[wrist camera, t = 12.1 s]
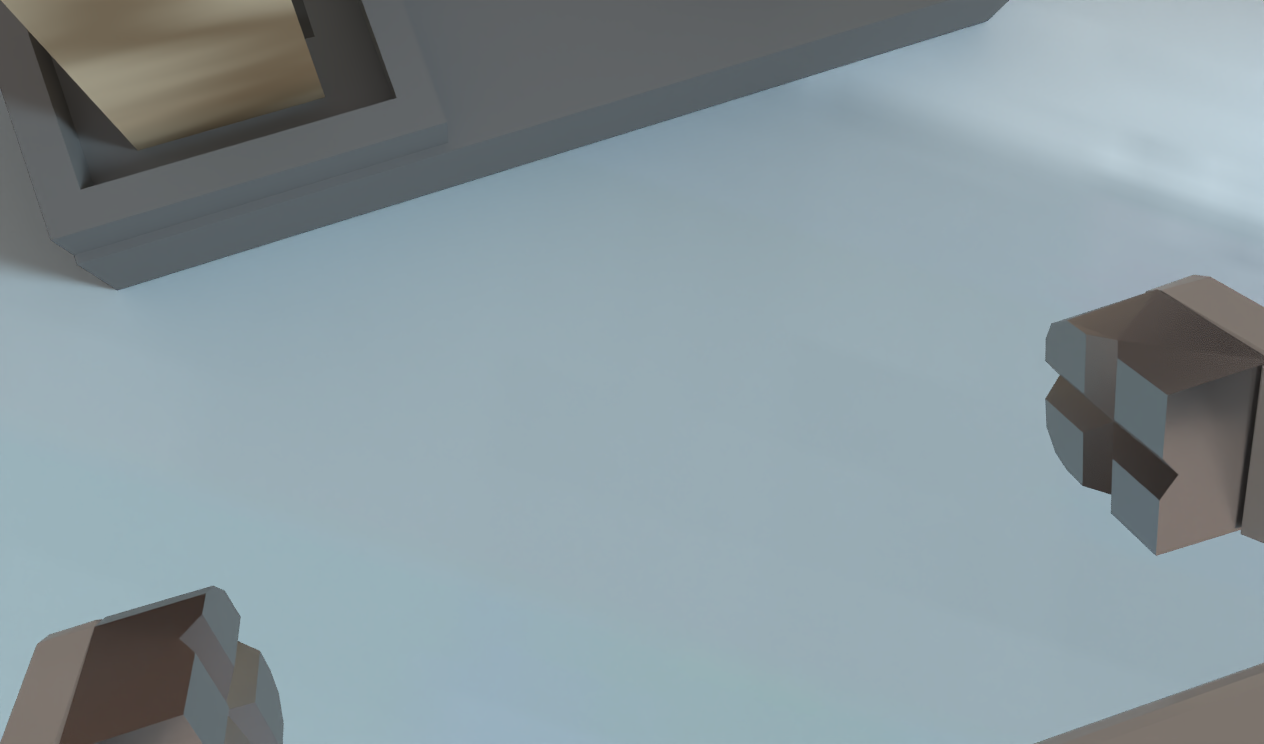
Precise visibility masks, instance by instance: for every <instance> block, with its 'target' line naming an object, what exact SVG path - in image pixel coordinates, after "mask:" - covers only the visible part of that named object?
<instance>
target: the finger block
mask: <svg viewBox="0 0 1264 744" xmlns="http://www.w3.org/2000/svg"><path fill="white" fill-rule="evenodd" d="M1 1H2V2H3V3H4V4H5V5H6V7H7V8H8V9H9V10H10V11H11V12H12V13H13V14H14V15H15V16H16V18H17V19H18V20H19V21H20V22H21V23H22V24H23V25H24V26H25V27H26V29H27V30H28V31H29V32H30V33H31V34H32V35H33V36H34V37H35V38H36V39H37V41H38V42H39V43H40V44H41V45H42V46H43V47H44V48H45V49H46V50H47V52H48V53H49V54H50V55H51V56H52V57H53V58H54V59H55V60H56V61H57V63H58V64H59V65H60V66H61V67H62V68H63V69H64V70H65V71H66V72H67V74H68V75H69V76H70V77H71V78H72V79H73V80H74V81H75V82H76V83H77V84H78V86H79V87H80V88H81V89H82V90H83V91H84V92H85V93H86V94H87V95H88V97H89V98H90V99H91V100H92V101H93V102H94V103H95V104H96V105H97V106H98V108H99V109H100V110H101V111H102V112H103V113H104V114H105V115H106V116H107V117H108V118H109V120H110V121H111V122H112V123H113V124H114V125H115V126H116V127H117V128H118V129H119V131H120V132H121V133H122V134H123V135H124V136H125V137H126V138H127V139H128V140H129V142H130V143H131V144H132V145H133V146H134V147H135V148H136V149H137V150H142V149H145V148H149V147H152V146H156V145H159V144H163V143H166V142H170V141H173V140H177V139H180V138H184V137H188V136H191V135H195V134H198V133H202V132H205V131H209V130H212V129H216V128H219V127H223V126H226V125H230V124H233V123H237V122H240V121H244V120H247V119H251V118H254V117H258V116H261V115H265V114H268V113H272V112H275V111H279V110H282V109H286V108H289V107H293V106H296V105H300V104H303V103H307V102H310V101H314V100H317V99H321V98H324V97H325V95H324V92H323V89H322V87H321V84H320V81H319V78H318V75H317V72H316V69H315V67H314V64H313V61H312V58H311V55H310V52H309V49H308V47H307V44H306V41H305V39H307V38H311V37H315V36H314V33H313V30H312V27H311V24H310V20H309V17H308V14H307V11H306V8H305V5H304V2H303V0H1Z"/></svg>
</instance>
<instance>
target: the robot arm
mask: <svg viewBox="0 0 1264 744" xmlns="http://www.w3.org/2000/svg"><path fill="white" fill-rule="evenodd" d="M1045 361H1046V362H1047V363H1048V364H1049V365H1050V366H1051V367H1052V368H1053V369H1054V370H1055V371H1056V372H1057V373H1058V374H1059V375H1060V376H1059V377H1058V379H1057V381H1056V382H1055V384H1054V385H1053V387H1052V389H1051V390H1050V392H1049V394H1048V395H1047V397H1046V399H1045V402H1046V426H1047V430H1048V433H1049V435H1050V438H1051V441H1052V444H1053V447H1054V450H1055V453H1056V454H1057V456H1058V457H1059V459H1060V460H1061V462H1062V463H1063V465H1064V466H1065V468H1066V470H1067V471H1068V472H1069V473H1070V474H1071V475H1072V476H1073V477H1074V478H1075V479H1076V480H1077V481H1078V482H1079V483H1080V484H1081V485H1082V486H1085V487H1088V488H1092V489H1095V490H1098V491H1102V492H1105V493H1108V494H1111V514H1112V515H1113V516H1114V517H1116V518H1117V519H1118V520H1119V521H1120V522H1121V523H1122V524H1123V525H1124V526H1125V527H1126V528H1127V529H1128V530H1129V531H1130V532H1131V533H1132V534H1133V535H1135V536H1136V537H1137V538H1138V539H1139V540H1140V541H1141V542H1142V543H1143V544H1144V545H1145V546H1146V547H1147V548H1148V549H1149V550H1150V551H1151V552H1152V553H1153V554H1155V555H1156V556H1157V555H1160V554H1163V553H1167V552H1170V551H1173V550H1176V549H1179V548H1183V547H1186V546H1189V545H1192V544H1196V543H1199V542H1202V541H1205V540H1209V539H1212V538H1215V537H1218V536H1222V535H1225V534H1228V533H1231V532H1235V531H1238V530H1241V534H1242V535H1245V536H1247V537H1250V538H1252V539H1255V540H1257V541H1260V542H1262V543H1264V307H1263V306H1261V305H1259V304H1257V303H1256V302H1254V301H1252V300H1250V299H1248V298H1247V297H1245V296H1243V295H1241V294H1240V293H1238V292H1236V291H1234V290H1233V289H1231V288H1229V287H1227V286H1226V285H1224V284H1222V283H1220V282H1219V281H1217V280H1215V279H1213V278H1212V277H1209V276H1200V275H1191V276H1188V277H1186V278H1183V279H1180V280H1177V281H1174V282H1171V283H1168V284H1165V285H1163V286H1160V287H1157V288H1154V289H1151V290H1148V291H1146V293H1144V294H1141V295H1138V296H1135V297H1131V298H1128V299H1125V300H1122V301H1119V302H1116V303H1113V304H1110V305H1107V306H1104V307H1101V308H1098V309H1095V310H1091V311H1088V312H1085V313H1082V314H1079V315H1076V316H1073V317H1070V318H1067V319H1064V320H1061V321H1058V322H1055V323H1051V326H1050V329H1049V331H1048V334H1047V337H1046V352H1045ZM240 618H241V616H240V615H239V613H238V612H237V610H236V608H235V607H234V605H233V603H232V602H231V600H230V599H229V597H228V595H227V594H226V592H225V591H224V590H222V589H220V588H217V587H215V586H210V587H207V588H203V589H200V590H197V591H193V592H190V593H186V594H183V595H179V596H176V597H173V598H169V599H166V600H162V601H159V602H155V603H152V604H149V605H145V606H142V607H138V608H135V609H131V610H128V611H125V612H121V613H118V614H114V615H111V616H107V617H105V618H104V619H100V620H94V621H91V622H88V623H85V624H82V625H78V626H75V627H72V628H69V629H66V630H62V631H59V632H56V633H53V634H50V635H48V636H47V637H46V638H44V639H43V640H42V641H40V642H39V643H38V644H37V646H36V648H35V650H34V653H33V656H32V658H31V661H30V664H29V666H28V669H27V672H26V674H25V677H24V680H23V682H22V685H21V688H20V691H19V693H18V696H17V699H16V701H15V704H14V707H13V709H12V712H11V715H10V717H9V720H8V723H7V726H6V728H5V731H4V734H3V736H2V739H1V742H0V744H283V726H284V723H283V717H282V711H281V704H280V698H279V693H278V690H277V687H276V684H275V682H274V679H273V676H272V673H271V671H270V669H269V667H268V665H267V663H266V661H265V659H264V658H263V656H262V654H261V652H260V651H259V650H256V649H254V648H252V647H250V646H248V645H245V644H243V643H241V642H239V641H238V634H239V626H240ZM1034 744H1264V663H1262V664H1259V665H1256V666H1253V667H1250V668H1247V669H1245V670H1242V671H1239V672H1236V673H1233V674H1230V675H1227V676H1225V677H1222V678H1219V679H1216V680H1213V681H1210V682H1208V683H1205V684H1202V685H1199V686H1196V687H1193V688H1191V689H1188V690H1185V691H1182V692H1179V693H1176V694H1173V695H1171V696H1168V697H1165V698H1162V699H1159V700H1156V701H1154V702H1151V703H1148V704H1145V705H1142V706H1139V707H1137V708H1134V709H1131V710H1128V711H1125V712H1122V713H1119V714H1117V715H1114V716H1111V717H1108V718H1105V719H1102V720H1100V721H1097V722H1094V723H1091V724H1088V725H1085V726H1083V727H1080V728H1077V729H1074V730H1071V731H1068V732H1066V733H1063V734H1060V735H1057V736H1054V737H1051V738H1048V739H1046V740H1043V741H1040V742H1037V743H1034Z"/></svg>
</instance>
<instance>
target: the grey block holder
mask: <svg viewBox="0 0 1264 744" xmlns="http://www.w3.org/2000/svg"><path fill="white" fill-rule="evenodd" d="M1008 1H1009V0H303V2H304V5H305V8H306V11H307V14H308V17H309V20H310V24H311V27H312V30H313V33H314V36H315V37H311V38H307V39H305V41H306V44H307V47H308V49H309V52H310V55H311V58H312V61H313V64H314V67H315V69H316V72H317V75H318V78H319V81H320V84H321V87H322V89H323V92H324V95H325V97H324V98H321V99H317V100H314V101H310V102H307V103H303V104H300V105H296V106H293V107H289V108H286V109H282V110H279V111H275V112H272V113H268V114H265V115H261V116H258V117H254V118H251V119H247V120H244V121H240V122H237V123H233V124H230V125H226V126H223V127H219V128H216V129H212V130H209V131H205V132H202V133H198V134H195V135H191V136H188V137H184V138H180V139H177V140H173V141H170V142H166V143H163V144H159V145H156V146H152V147H149V148H145V149H142V150H137V149H136V148H135V147H134V146H133V145H132V144H131V143H130V142H129V140H128V139H127V138H126V137H125V136H124V135H123V134H122V133H121V132H120V131H119V129H118V128H117V127H116V126H115V125H114V124H113V123H112V122H111V121H110V120H109V118H108V117H107V116H106V115H105V114H104V113H103V112H102V111H101V110H100V109H99V108H98V106H97V105H96V104H95V103H94V102H93V101H92V100H91V99H90V98H89V97H88V95H87V94H86V93H85V92H84V91H83V90H82V89H81V88H80V87H79V86H78V84H77V83H76V82H75V81H74V80H73V79H72V78H71V77H70V76H69V75H68V74H67V72H66V71H65V70H64V69H63V68H62V67H61V66H60V65H59V64H58V63H57V61H56V60H55V59H54V58H53V57H52V56H51V55H50V54H49V53H48V52H47V50H46V49H45V48H44V47H43V46H42V45H41V44H40V43H39V42H38V41H37V39H36V38H35V37H34V36H33V35H32V34H31V33H30V32H29V31H28V30H27V29H26V27H25V26H24V25H23V24H22V23H21V22H20V21H19V20H18V19H17V18H16V16H15V15H14V14H13V13H12V12H11V11H10V10H9V9H8V8H7V7H6V5H5V4H4V3H3V2H2V1H1V0H0V88H1V91H2V94H3V97H4V100H5V103H6V106H7V109H8V112H9V115H10V118H11V121H12V124H13V127H14V130H15V133H16V136H17V139H18V142H19V145H20V148H21V151H22V154H23V158H24V161H25V164H26V167H27V170H28V173H29V176H30V179H31V182H32V185H33V188H34V191H35V194H36V197H37V200H38V203H39V206H40V209H41V212H42V215H43V218H44V221H45V224H46V227H47V230H48V233H49V236H50V239H51V241H53V242H54V243H56V244H57V245H59V246H61V247H62V248H64V249H65V250H67V251H68V252H70V253H71V254H73V255H74V257H75V260H76V263H77V265H79V266H80V267H82V268H83V269H85V270H86V271H88V272H90V273H91V274H93V275H94V276H96V277H97V278H99V279H101V280H102V281H104V282H105V283H107V284H108V285H110V286H111V287H113V288H115V289H116V290H120V289H123V288H126V287H129V286H133V285H136V284H139V283H142V282H146V281H149V280H152V279H155V278H158V277H162V276H165V275H168V274H171V273H175V272H178V271H181V270H184V269H187V268H191V267H194V266H197V265H200V264H204V263H207V262H210V261H213V260H217V259H220V258H223V257H226V256H229V255H233V254H236V253H239V252H242V251H246V250H249V249H252V248H255V247H259V246H262V245H265V244H268V243H271V242H275V241H278V240H281V239H284V238H288V237H291V236H294V235H297V234H301V233H304V232H307V231H310V230H313V229H317V228H320V227H323V226H326V225H330V224H333V223H336V222H339V221H343V220H346V219H349V218H352V217H355V216H359V215H362V214H365V213H368V212H372V211H375V210H378V209H381V208H385V207H388V206H391V205H394V204H397V203H401V202H404V201H407V200H410V199H414V198H417V197H420V196H423V195H427V194H430V193H433V192H436V191H439V190H443V189H446V188H449V187H452V186H456V185H459V184H462V183H465V182H469V181H472V180H475V179H478V178H481V177H485V176H488V175H491V174H494V173H498V172H501V171H504V170H507V169H511V168H514V167H517V166H520V165H523V164H527V163H530V162H533V161H536V160H540V159H543V158H546V157H549V156H552V155H556V154H559V153H562V152H565V151H569V150H572V149H575V148H578V147H582V146H585V145H588V144H591V143H594V142H598V141H601V140H604V139H607V138H611V137H614V136H617V135H620V134H624V133H627V132H630V131H633V130H636V129H640V128H643V127H646V126H649V125H653V124H656V123H659V122H662V121H666V120H669V119H672V118H675V117H678V116H682V115H685V114H688V113H691V112H695V111H698V110H701V109H704V108H708V107H711V106H714V105H717V104H720V103H724V102H727V101H730V100H733V99H737V98H740V97H743V96H746V95H750V94H753V93H756V92H759V91H762V90H766V89H769V88H772V87H775V86H779V85H782V84H785V83H788V82H792V81H795V80H798V79H801V78H804V77H808V76H811V75H814V74H817V73H821V72H824V71H827V70H830V69H834V68H837V67H840V66H843V65H846V64H850V63H853V62H856V61H859V60H863V59H866V58H869V57H872V56H875V55H879V54H882V53H885V52H888V51H892V50H895V49H898V48H901V47H905V46H908V45H911V44H914V43H917V42H921V41H924V40H927V39H930V38H934V37H937V36H940V35H943V34H947V33H950V32H953V31H956V30H959V29H963V28H966V27H969V26H972V25H976V24H979V23H982V22H985V21H988V20H989V19H990V18H991V17H992V16H993V15H994V14H995V13H996V12H997V11H998V10H999V9H1000V8H1001V7H1003V6H1004V5H1005V4H1006V3H1007V2H1008Z"/></svg>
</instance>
